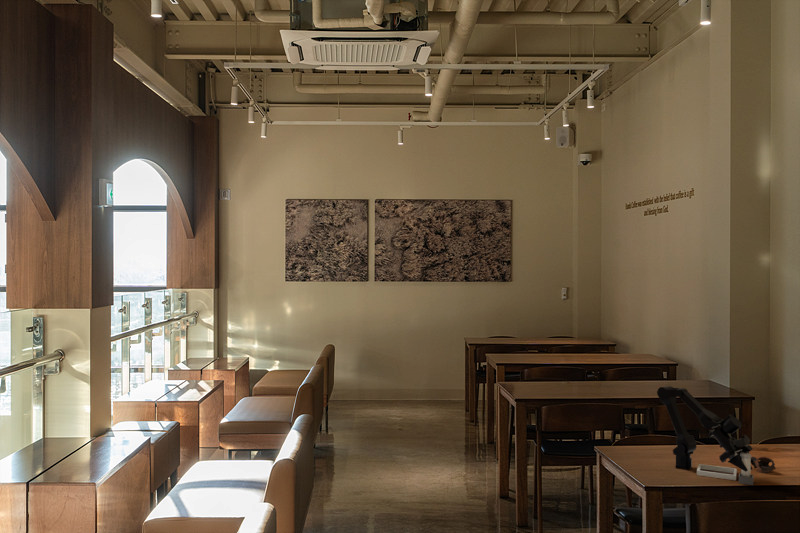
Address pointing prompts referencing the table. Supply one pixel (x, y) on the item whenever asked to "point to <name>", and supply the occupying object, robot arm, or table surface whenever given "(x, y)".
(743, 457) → the fuse
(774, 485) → the table surface
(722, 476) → the parts tray
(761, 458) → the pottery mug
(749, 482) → the fuse holder
